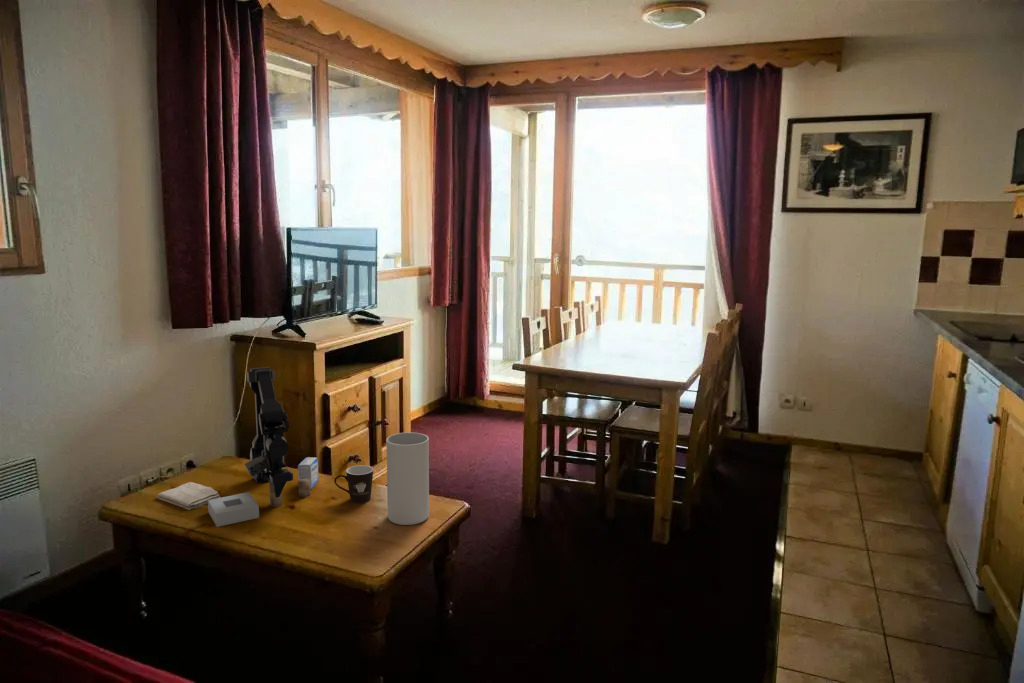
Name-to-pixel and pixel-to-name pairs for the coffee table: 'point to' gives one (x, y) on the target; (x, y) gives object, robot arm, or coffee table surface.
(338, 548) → the coffee table surface
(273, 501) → the long dowel
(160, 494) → the washcloth
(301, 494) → the short dowel
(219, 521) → the socket block
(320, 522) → the coffee table surface
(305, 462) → the medicine box
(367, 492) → the coffee mug
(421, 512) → the cylinder vase
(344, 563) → the coffee table surface
